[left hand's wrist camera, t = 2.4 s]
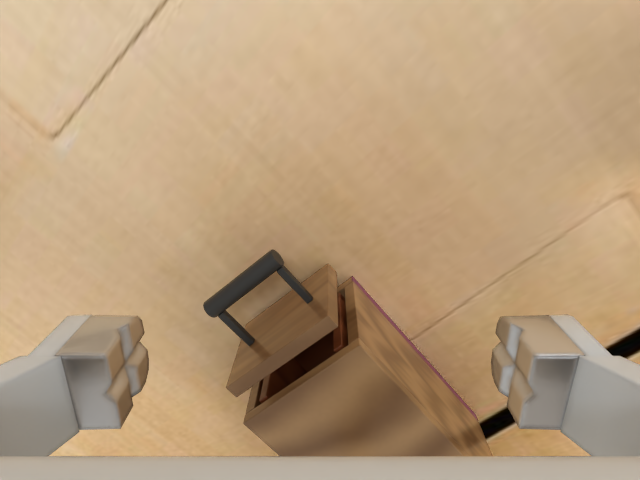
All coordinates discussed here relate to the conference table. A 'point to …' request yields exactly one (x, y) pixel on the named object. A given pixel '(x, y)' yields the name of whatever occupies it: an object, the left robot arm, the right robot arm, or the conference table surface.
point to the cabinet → (368, 398)
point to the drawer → (282, 327)
